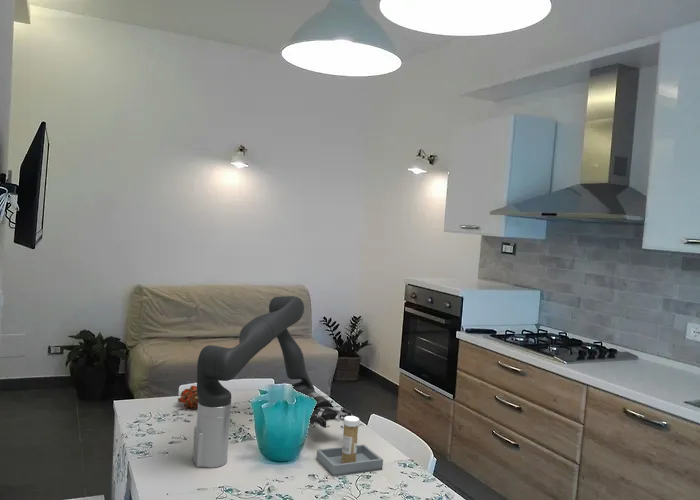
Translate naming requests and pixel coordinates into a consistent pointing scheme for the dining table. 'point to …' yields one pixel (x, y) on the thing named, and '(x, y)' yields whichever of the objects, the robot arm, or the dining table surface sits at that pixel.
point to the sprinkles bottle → (350, 439)
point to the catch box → (335, 467)
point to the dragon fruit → (189, 397)
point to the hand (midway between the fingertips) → (337, 423)
